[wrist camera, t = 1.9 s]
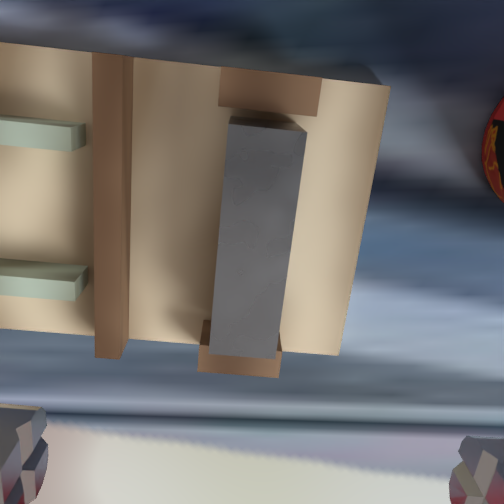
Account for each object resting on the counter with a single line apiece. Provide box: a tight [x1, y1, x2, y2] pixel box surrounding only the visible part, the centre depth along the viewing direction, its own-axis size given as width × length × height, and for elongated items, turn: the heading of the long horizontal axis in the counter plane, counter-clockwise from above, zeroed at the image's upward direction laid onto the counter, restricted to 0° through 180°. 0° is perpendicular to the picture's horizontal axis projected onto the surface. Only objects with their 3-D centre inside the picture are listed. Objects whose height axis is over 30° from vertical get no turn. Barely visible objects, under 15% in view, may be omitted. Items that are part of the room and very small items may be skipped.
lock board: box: [0, 42, 391, 378], centre depth 22 cm, size 24×14×4 cm, turn 84°
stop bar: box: [209, 116, 308, 359], centre depth 21 cm, size 10×3×4 cm, turn 174°
